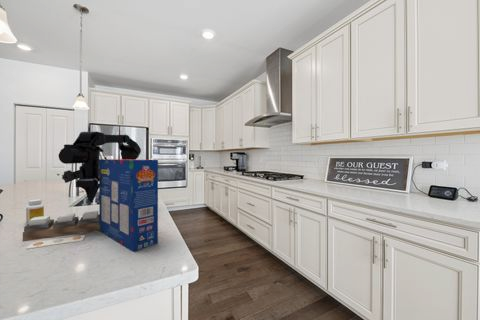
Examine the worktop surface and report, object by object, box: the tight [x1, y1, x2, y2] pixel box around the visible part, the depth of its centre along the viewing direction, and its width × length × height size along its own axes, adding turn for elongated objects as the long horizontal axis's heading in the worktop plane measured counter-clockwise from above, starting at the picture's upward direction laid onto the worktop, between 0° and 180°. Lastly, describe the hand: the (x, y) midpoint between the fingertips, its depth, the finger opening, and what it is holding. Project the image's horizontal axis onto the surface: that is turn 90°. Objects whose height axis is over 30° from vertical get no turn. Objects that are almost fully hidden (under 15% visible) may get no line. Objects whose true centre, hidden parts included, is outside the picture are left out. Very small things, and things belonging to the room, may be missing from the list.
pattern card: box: [25, 234, 86, 250], centre depth 68 cm, size 14×5×1 cm, turn 119°
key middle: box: [56, 212, 76, 223], centre depth 76 cm, size 4×4×2 cm
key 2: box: [82, 210, 99, 220], centre depth 80 cm, size 4×4×2 cm
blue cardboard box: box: [98, 158, 159, 253], centre depth 72 cm, size 28×8×28 cm, turn 52°
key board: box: [22, 213, 100, 242], centre depth 76 cm, size 22×7×5 cm, turn 119°
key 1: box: [29, 215, 51, 226], centre depth 73 cm, size 4×4×2 cm
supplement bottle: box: [25, 198, 45, 225], centre depth 88 cm, size 5×5×10 cm
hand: (90, 202), depth 80 cm, fingers closed
